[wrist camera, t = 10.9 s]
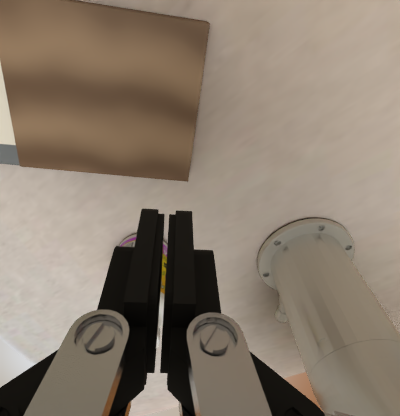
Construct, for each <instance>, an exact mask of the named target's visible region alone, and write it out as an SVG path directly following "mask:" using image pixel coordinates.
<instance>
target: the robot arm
mask: <svg viewBox="0 0 400 416" xmlns="http://www.w3.org/2000/svg"><path fill="white" fill-rule="evenodd" d="M163 235H164V214H158V210H157V209H142V211H141V216H140V221H139V226H138V231H137V236H136V241H135V246H134V247H125V246H116V247H115V249H114V252H113V255H112V259H111V262H110V266H109V269H108V273H107V277H106V280H105V284H104V287H103V291H102V294H101V298H100V302H99V305H98V309H97V310H96V311H91V312H89V313H87V314H85V315H83V316H81V317H80V318H79V319H78V320H76V321H75V322H74V324H73V325H72V326H71V328H70V329H69V331H68V333H67V335H66V337H65V339H64V340H63V342H62V344H61V346H60V348H59V350H57V351H55V352H54V353H52V354H51V355H49V356H48V357H46V358H45V359H43V360H42V361H40V362H39V363H37V364H36V365H34V366H33V367H31V368H30V369H28V370H26V371H25V372H23V373H22V374H20V375H19V376H17V377H16V378H14V379H13V380H11V381H10V382H8V383H7V384H5V385H4V386H2V387H1V388H0V416H128V415H129V411H130V408H131V400H133V399H134V398H135V397H136V396H137V395H138V394H139V393H140V392H141V391H143V390H144V385H146V379H147V373H154V370H155V357H156V344H157V331H158V318H159V305H160V292H161V279H162V258H163ZM354 251H355V249H354V242H353V240H352V237H351V236H350V234H349V233H348V232H347V230H346V229H345V228H344V227H343V226H341V225H340V224H338V223H336V222H334V221H330V220H327V219H319V218H316V219H305V220H300V221H297V222H294V223H291V224H289V225H287V226H285V227H283V228H281V229H279V230H278V231H276V232H275V233H274V234H272V235H271V236H270V237H269V238H268V239H267V240H266V242H265V243H264V245H263V246H262V247H261V250H260V252H259V254H258V259H257V265H258V270H259V274H260V276H261V278H262V280H263V281H264V282H265V283H266V284H267V285H268V286H269V287H271V288H272V289H275V290H277V291H278V293H279V296H280V297H279V303H280V305H279V306H278V308H277V310H276V313H275V318H276V320H277V321H279V322H281V323H285V322H287V321H289V324H290V327H291V330H292V332H293V335H294V338H295V341H296V344H297V347H298V350H299V352H300V355H301V358H302V361H303V364H304V367H305V370H306V373H307V375H308V378H309V381H310V384H311V387H312V389H313V392H314V395H315V397H316V399H317V402H318V403H319V405H320V407H321V408H322V410H323V411H324V412H322V411H321V410H320V408H318V407H317V406H316V405H315V404H314V403H313V402H312V401H311V400H309V399H308V398H307V397H306V396H304V395H303V394H302V393H301V392H299V391H298V390H297V389H296V388H294V387H293V386H292V385H291V384H289V383H288V382H287V381H286V380H284V379H283V378H282V377H281V376H279V375H278V374H277V373H276V372H275V371H273V370H272V369H271V368H270V367H268V366H267V365H266V364H265V363H263V362H262V361H261V360H260V359H258V358H257V357H256V356H255V355H253V354H252V353H251V352H250V351H249V349H248V346H247V343H246V340H245V338H244V335H243V332H242V330H241V328H240V327H239V325H238V324H237V323H236V322H235V321H234V320H233V319H231V318H230V317H228V316H226V315H224V314H221V309H220V301H219V293H218V285H217V277H216V269H215V261H214V253H213V251H212V250H194V245H193V223H192V211H176V215H171V214H170V215H169V231H168V247H167V263H166V279H165V295H164V312H163V331H162V350H161V369H160V373H168V375H167V385H168V390H169V391H170V392H171V393H172V394H173V396H174V397H175V398H176V399H177V400H178V401H179V412H180V416H400V334H399V332H398V331H397V329H396V328H395V326H394V325H393V323H392V322H391V320H390V319H389V317H388V316H387V314H386V313H385V311H384V310H383V308H382V307H381V305H380V304H379V302H378V300H377V299H376V297H375V296H374V294H373V293H372V291H371V290H370V288H369V287H368V285H367V284H366V282H365V281H364V279H363V278H362V276H361V275H360V273H359V272H358V270H357V269H356V267H355V266H354V264H353V263H352V259H353V257H354Z"/></svg>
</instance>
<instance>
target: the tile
mask: <svg viewBox="0 0 400 416" xmlns="http://www.w3.org/2000/svg"><path fill="white" fill-rule="evenodd" d="M0 144H8V145H16V143H15V138H14V132H13V127H12V121H11V116H10V111H9V105H8V100H7V95H6V89H5V84H4V79H3V73H2V68H1V62H0Z"/></svg>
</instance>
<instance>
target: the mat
mask: <svg viewBox="0 0 400 416" xmlns="http://www.w3.org/2000/svg"><path fill="white" fill-rule="evenodd" d="M0 164H10V165H20V164H19V159H18V154H17V148H16V145H8V144H0Z"/></svg>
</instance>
